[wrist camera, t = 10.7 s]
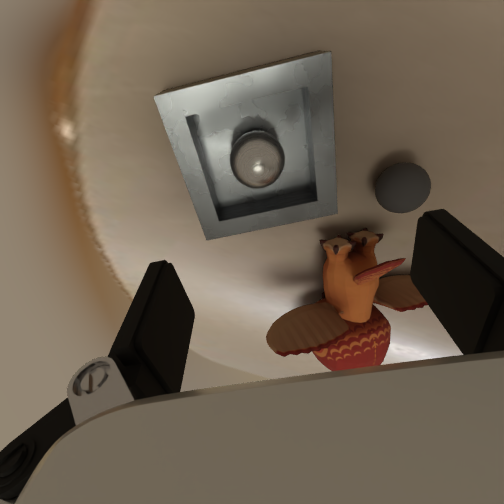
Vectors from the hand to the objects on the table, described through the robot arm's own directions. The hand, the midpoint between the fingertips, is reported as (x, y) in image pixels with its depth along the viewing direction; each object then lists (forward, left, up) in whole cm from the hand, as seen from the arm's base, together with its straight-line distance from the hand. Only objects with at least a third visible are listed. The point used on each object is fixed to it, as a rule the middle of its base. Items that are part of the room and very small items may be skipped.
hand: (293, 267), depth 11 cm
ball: (-10, +5, -13) cm, 17 cm away
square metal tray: (+1, 0, -15) cm, 15 cm away
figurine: (-6, +15, -15) cm, 22 cm away
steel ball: (+1, 0, -12) cm, 12 cm away
